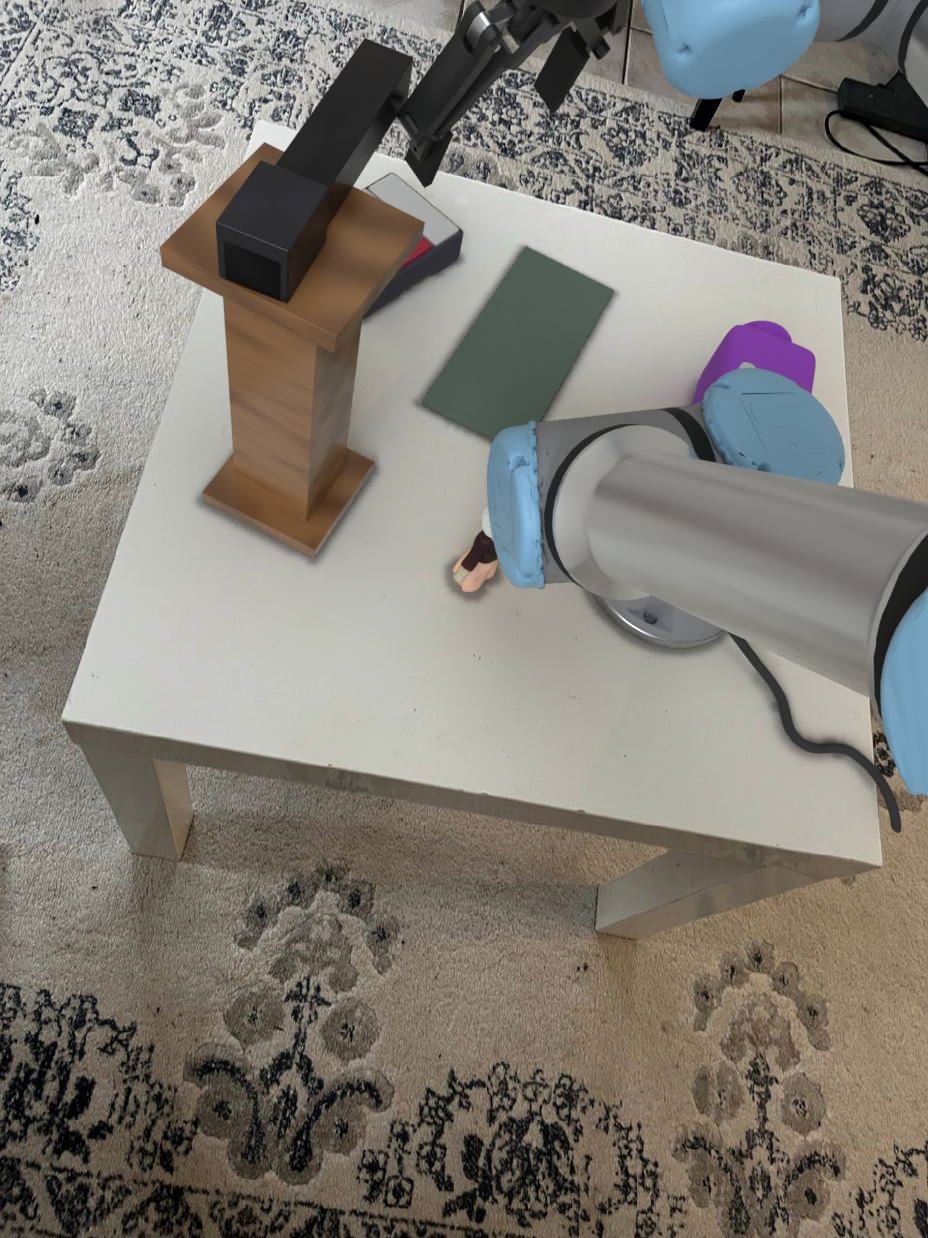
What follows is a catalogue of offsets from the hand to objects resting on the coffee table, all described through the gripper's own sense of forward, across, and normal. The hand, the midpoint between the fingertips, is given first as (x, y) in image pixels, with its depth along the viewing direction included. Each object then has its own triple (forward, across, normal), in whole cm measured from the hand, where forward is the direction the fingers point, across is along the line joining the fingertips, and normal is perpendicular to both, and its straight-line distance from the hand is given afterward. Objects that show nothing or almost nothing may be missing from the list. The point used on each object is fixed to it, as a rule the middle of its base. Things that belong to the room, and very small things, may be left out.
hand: (483, 133), depth 72 cm
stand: (+15, +27, +13) cm, 33 cm away
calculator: (+25, +3, -3) cm, 25 cm away
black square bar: (-10, +18, +1) cm, 21 cm away
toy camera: (+16, -16, +32) cm, 39 cm away
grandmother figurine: (+11, +20, +29) cm, 37 cm away
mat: (+20, -3, +14) cm, 24 cm away
